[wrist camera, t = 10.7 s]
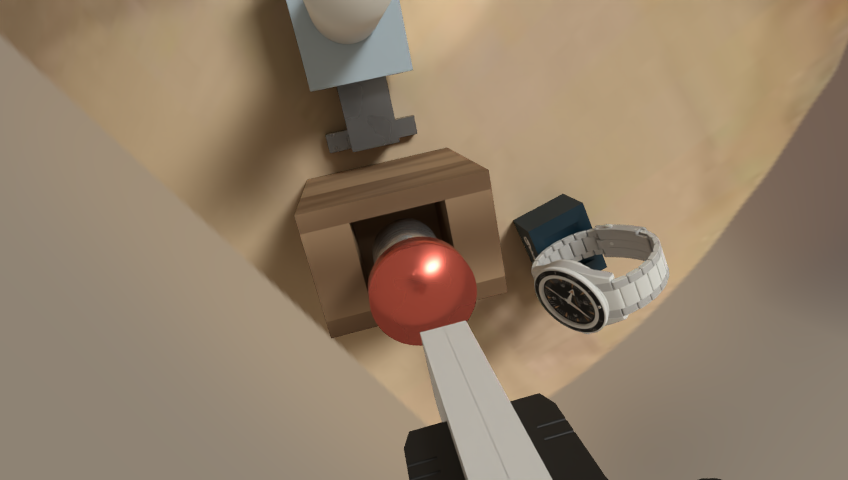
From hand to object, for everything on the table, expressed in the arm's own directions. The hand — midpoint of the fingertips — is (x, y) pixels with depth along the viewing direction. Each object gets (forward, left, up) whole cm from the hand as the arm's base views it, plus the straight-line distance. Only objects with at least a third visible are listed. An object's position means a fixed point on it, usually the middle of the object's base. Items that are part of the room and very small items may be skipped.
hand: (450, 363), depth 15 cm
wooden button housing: (0, 0, -20) cm, 20 cm away
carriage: (-13, 0, -19) cm, 23 cm away
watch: (+5, +12, -21) cm, 24 cm away
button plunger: (0, 0, -11) cm, 11 cm away
